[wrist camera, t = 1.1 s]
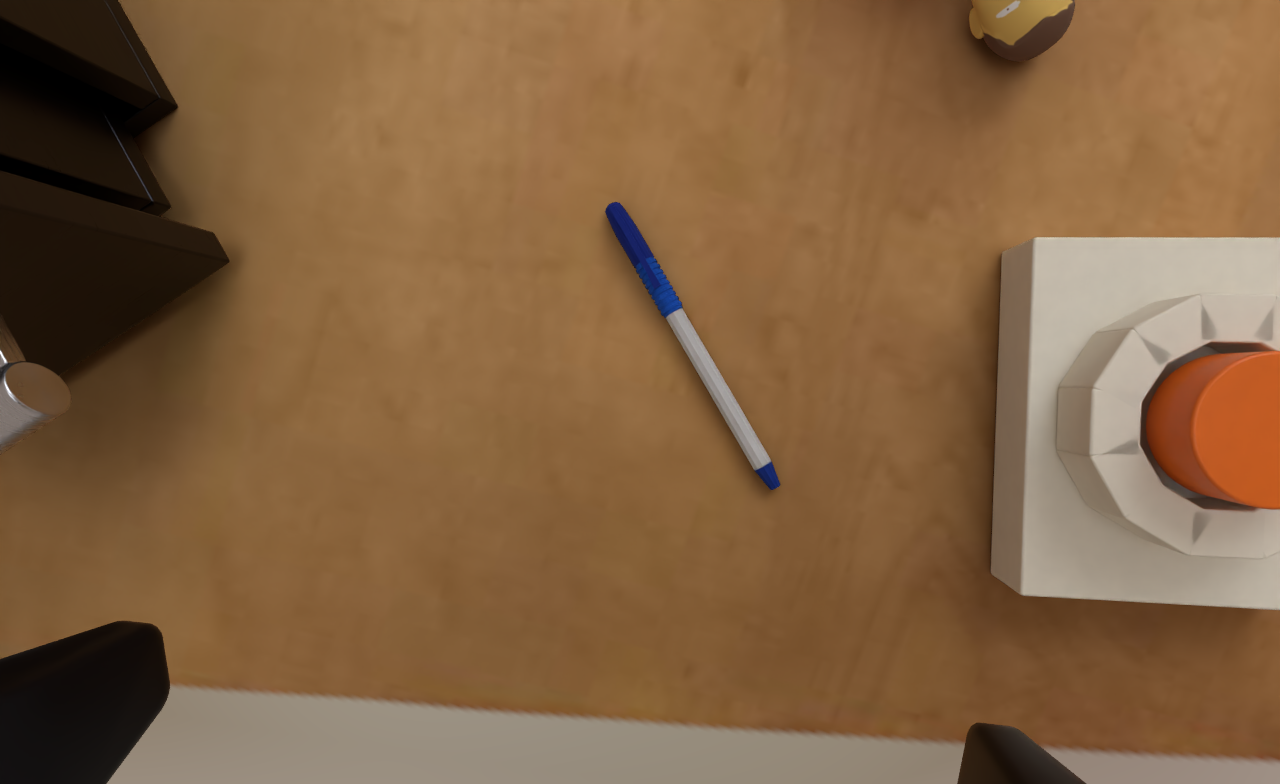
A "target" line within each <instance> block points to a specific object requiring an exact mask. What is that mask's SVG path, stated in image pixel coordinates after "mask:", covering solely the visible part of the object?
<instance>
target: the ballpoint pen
mask: <svg viewBox="0 0 1280 784" xmlns="http://www.w3.org/2000/svg"><path fill="white" fill-rule="evenodd" d="M605 213H606V215H607V218H608V220H609V222H610V224H611V226H612V229H613V231H614V233H615V235H616V237H617V238H618V240H619V242H620V244H621V245H622V247H623V249H624V251H625V252H626V254H627V256H628V257H629V259H630V261H631V263H632V264H633V266H634V268H636V269H637V270H636V272H637V273H638V274H639V277H640V279H642V282H643V284H645V285H646V286H645V287H646V289H648V290H649V291H648V292H649V294H650V295H652V297H651V298H652V299H653V300H655V304H656V305H658V310H660V311H661V315H662V316H664V317H665V318H666V319H667V321H668V323H669V324H670V326H671V328H672V330H673V331H674V333H675V335H676V336H677V338H678V340H679V342H680V343H681V345H682V347H683V348H684V350H685V352H686V354H687V355H688V357H689V359H690V361H691V362H692V364H693V366H694V367H695V369H696V371H697V373H698V374H699V376H700V378H701V379H702V381H703V383H704V385H705V386H706V388H707V390H708V391H709V393H710V395H711V397H712V398H713V400H714V402H715V403H716V405H717V407H718V409H719V410H720V412H721V414H722V415H723V417H724V419H725V421H726V422H727V424H728V426H729V427H730V429H731V431H732V433H733V434H734V436H735V438H736V440H737V441H738V443H739V445H740V446H741V448H742V450H743V452H744V453H745V455H746V457H747V458H748V460H749V462H750V464H751V465H752V467H753V469H754V470H755V472H756V473H757V474H758V475H759V476H760V478H761V479H762V480H763V481H764V483H765V484H766V485H767V486H768V487H769V489H770V490H773V489H775V488H777V487H779V486H780V482H779V480H778V477H777V475H776V472H775V469H774V467H773V464H772V462H771V460H770V458H769V456H768V454H767V453H766V451H765V449H764V448H763V446H762V444H761V442H760V441H759V439H758V437H757V436H756V434H755V432H754V430H753V429H752V427H751V425H750V424H749V422H748V420H747V418H746V417H745V415H744V413H743V412H742V410H741V408H740V406H739V405H738V403H737V401H736V400H735V398H734V396H733V394H732V393H731V391H730V389H729V388H728V386H727V384H726V382H725V381H724V379H723V377H722V376H721V374H720V372H719V370H718V369H717V367H716V365H715V364H714V362H713V360H712V358H711V357H710V355H709V353H708V352H707V350H706V348H705V346H704V345H703V343H702V341H701V340H700V338H699V336H698V334H697V333H696V331H695V329H694V328H693V326H692V324H691V322H690V321H689V319H688V317H687V316H686V314H685V312H684V310H683V309H682V308H683V307H682V303H681V301H679V300H678V299H679V298H678V296H676V295H675V294H676V293H675V291H673V290H672V289H673V287H672V286H671V285H669V283H670V282H669V281H668V280H666V275H664V274H663V270H662V269H660V265H659V264H657V260H656V259H654V256H653V254H652V252H651V250H650V249H649V247H648V245H647V244H646V242H645V240H644V238H643V237H642V235H641V233H640V232H639V230H638V228H637V226H636V225H635V223H634V222H633V220H632V219H631V218H630V216H629V215H628V213H627V212H626V211H625V209H624V208H623V206H622V205H621V204H620V203H618V202H614V203H611V204H609V205H608V206H607V208H606V211H605Z"/></svg>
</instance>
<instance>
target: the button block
mask: <svg viewBox="0 0 1280 784" xmlns="http://www.w3.org/2000/svg"><path fill="white" fill-rule="evenodd" d="M1264 351H1280V238H1139V237H1035V238H1033V239H1030V240H1028V241H1026V242H1024V243H1021V244H1019V245H1017V246H1015V247H1013V248H1010V249H1008V250H1006V251H1004V252H1003V253H1002V265H1001V293H1000V321H999V350H998V378H997V406H996V435H995V463H994V491H993V520H992V548H991V574H992V575H993V576H995V577H996V578H998V579H999V580H1000V581H1002V582H1003V583H1005V584H1006V585H1008V586H1009V587H1010V588H1012V589H1013V590H1015V591H1016V592H1017V593H1019V594H1020V595H1022V596H1039V597H1057V598H1074V599H1092V600H1110V601H1128V602H1145V603H1163V604H1181V605H1198V606H1216V607H1234V608H1252V609H1269V610H1280V509H1278V510H1271V509H1261V508H1256V507H1252V506H1247V505H1243V504H1239V503H1235V502H1230V501H1226V500H1222V499H1218V498H1214V497H1209V496H1205V495H1201V494H1198V493H1195V492H1192V491H1190V490H1188V489H1186V488H1184V487H1182V486H1181V485H1179V484H1178V483H1176V482H1175V481H1174V480H1172V479H1171V478H1170V477H1169V476H1168V475H1167V474H1166V473H1165V472H1164V471H1163V470H1162V469H1161V467H1160V466H1159V464H1158V463H1157V461H1156V460H1155V458H1154V456H1153V454H1152V452H1151V450H1150V447H1149V444H1148V440H1147V434H1146V418H1147V412H1148V408H1149V405H1150V402H1151V400H1152V397H1153V395H1154V394H1155V392H1156V390H1157V389H1158V387H1159V386H1160V385H1161V383H1162V382H1163V381H1164V380H1165V379H1166V378H1167V377H1168V376H1169V375H1170V374H1171V373H1172V372H1174V371H1175V370H1176V369H1178V368H1179V367H1181V366H1182V365H1184V364H1186V363H1187V362H1190V361H1192V360H1194V359H1197V358H1200V357H1204V356H1207V355H1213V354H1225V353H1245V352H1264Z"/></svg>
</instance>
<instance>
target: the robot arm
mask: <svg viewBox="0 0 1280 784" xmlns="http://www.w3.org/2000/svg"><path fill="white" fill-rule="evenodd" d="M169 689H170V680H169V674H168V668H167V661H166V655H165V649H164V642H163V637H162V633H161V632H160V630H159V629H158V627H156V626H154V625H153V624H149V623H140V622H132V621H117V622H113V623H110V624H107V625H104V626H101V627H97V628H94V629H91V630H88V631H85V632H82V633H79V634H76V635H73V636H70V637H67V638H64V639H61V640H58V641H54V642H51V643H48V644H45V645H42V646H39V647H36V648H33V649H30V650H27V651H24V652H21V653H18V654H14V655H11V656H8V657H5V658H2V659H0V784H106V783H107V782H108V781H109V779H110V778H111V777H112V775H113V774H114V773H115V771H116V770H117V769H118V767H119V766H120V765H121V763H122V762H123V761H124V759H125V758H126V757H127V755H128V754H129V753H130V751H131V750H132V748H133V747H134V746H135V745H136V743H137V742H138V741H139V739H140V738H141V737H142V735H143V734H144V732H145V731H146V730H147V728H148V727H149V726H150V724H151V723H152V722H153V720H154V719H155V718H156V716H157V715H158V714H159V712H160V711H161V709H162V708H163V706H164V704H165V702H166V700H167V698H168V694H169ZM957 784H1086V783H1085V782H1083V781H1082V780H1081V779H1080V778H1078V777H1077V776H1076V775H1075V774H1074V773H1072V772H1071V771H1070V770H1068V769H1067V768H1066V767H1065V766H1063V765H1062V764H1061V763H1060V762H1059V761H1057V760H1056V759H1055V758H1054V757H1052V756H1051V755H1050V754H1049V753H1047V752H1046V751H1045V750H1044V749H1042V748H1041V747H1040V746H1039V745H1038V744H1036V743H1035V742H1034V741H1033V740H1031V739H1030V738H1029V737H1028V736H1026V735H1025V734H1024V733H1022V732H1021V731H1020V730H1018V729H1016V728H1014V727H1011V726H1003V725H995V724H986V723H976V724H974V725H972V726H971V727H970V729H969V731H968V734H967V737H966V743H965V748H964V753H963V758H962V763H961V768H960V773H959V778H958V783H957Z"/></svg>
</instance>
